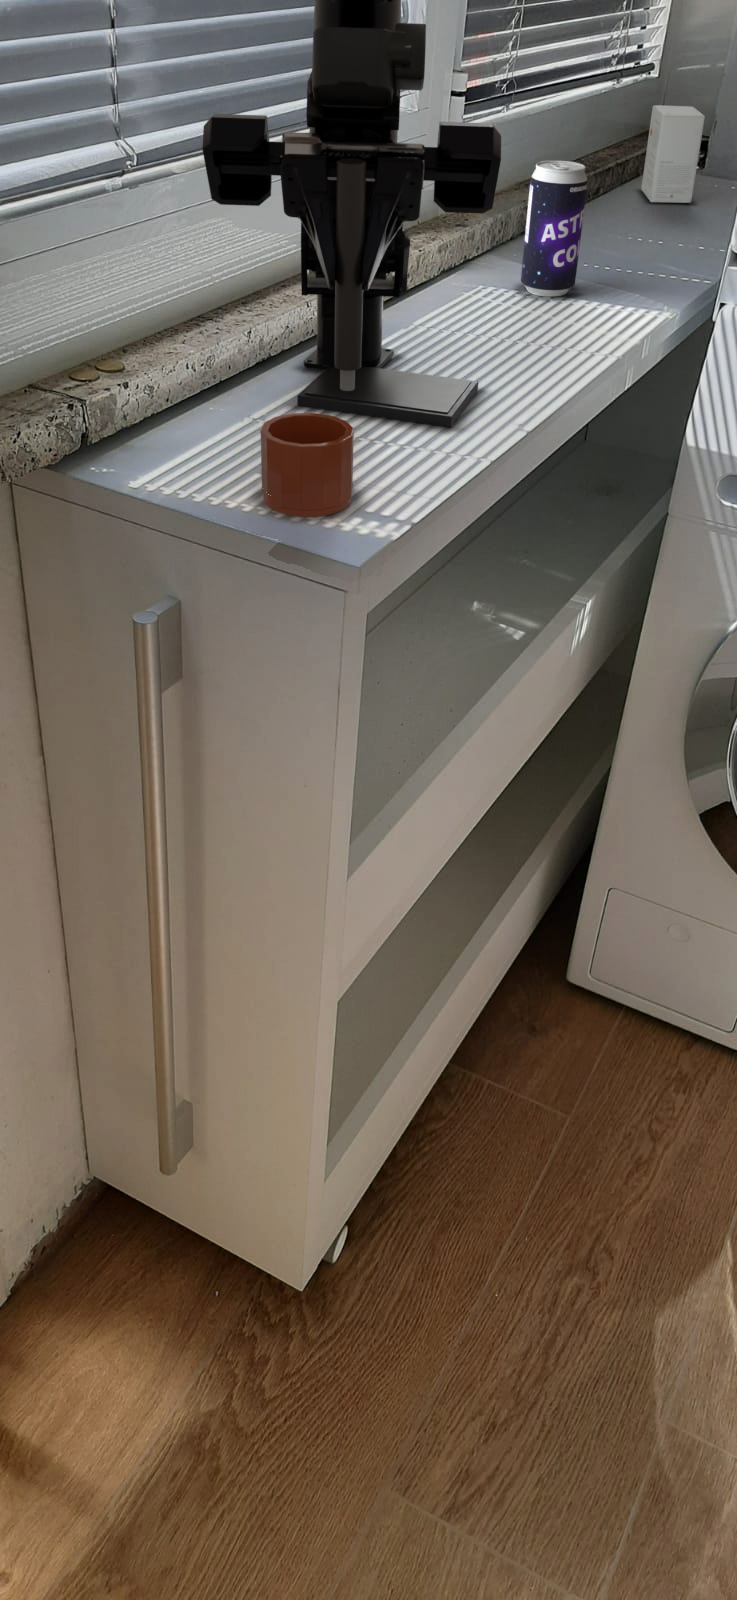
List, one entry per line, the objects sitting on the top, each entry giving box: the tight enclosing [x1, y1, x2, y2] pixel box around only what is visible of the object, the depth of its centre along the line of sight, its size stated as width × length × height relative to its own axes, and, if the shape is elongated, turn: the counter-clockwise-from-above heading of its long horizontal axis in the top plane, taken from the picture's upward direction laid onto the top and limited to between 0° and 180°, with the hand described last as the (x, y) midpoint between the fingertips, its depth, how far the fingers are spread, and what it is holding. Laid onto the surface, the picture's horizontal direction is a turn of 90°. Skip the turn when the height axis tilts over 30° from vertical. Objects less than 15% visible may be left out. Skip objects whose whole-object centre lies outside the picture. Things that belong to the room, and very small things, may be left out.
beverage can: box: [520, 160, 589, 298], centre depth 129 cm, size 6×6×12 cm
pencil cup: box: [260, 412, 355, 518], centre depth 87 cm, size 6×6×5 cm
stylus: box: [334, 159, 366, 391], centre depth 81 cm, size 2×2×14 cm
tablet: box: [296, 365, 479, 428], centre depth 104 cm, size 9×13×1 cm
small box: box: [640, 104, 706, 204], centre depth 168 cm, size 8×6×10 cm
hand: (348, 286), depth 80 cm, fingers closed on stylus, 2 cm apart
